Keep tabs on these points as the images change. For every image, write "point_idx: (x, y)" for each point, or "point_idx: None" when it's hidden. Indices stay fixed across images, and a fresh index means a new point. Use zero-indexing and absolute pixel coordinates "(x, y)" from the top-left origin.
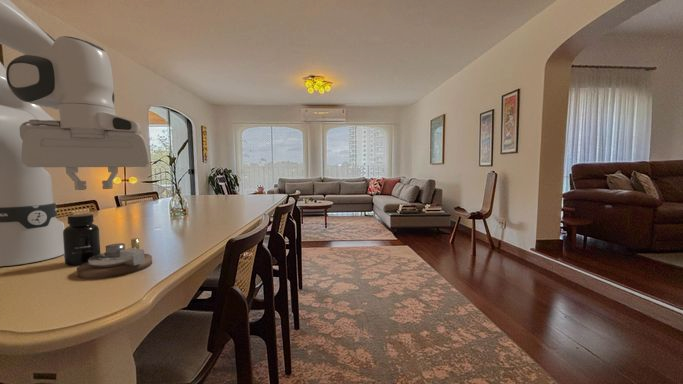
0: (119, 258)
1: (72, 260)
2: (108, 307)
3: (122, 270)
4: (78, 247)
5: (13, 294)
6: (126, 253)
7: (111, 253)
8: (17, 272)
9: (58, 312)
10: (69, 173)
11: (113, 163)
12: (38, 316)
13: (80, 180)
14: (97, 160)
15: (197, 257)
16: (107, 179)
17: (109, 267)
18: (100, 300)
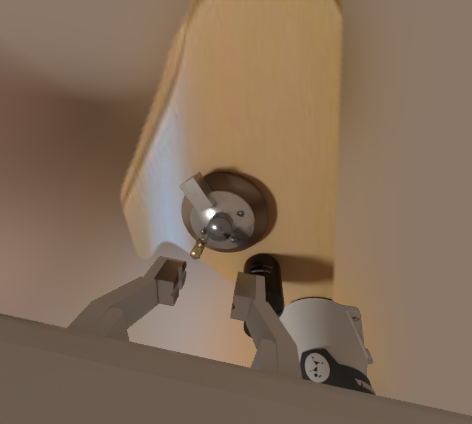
0: (216, 200)
1: (272, 261)
2: (228, 15)
3: (215, 174)
4: (265, 271)
5: (329, 181)
6: (204, 191)
7: (225, 216)
8: (323, 271)
9: (286, 47)
10: (283, 340)
11: (37, 345)
12: (307, 49)
13: (246, 322)
14: (110, 395)
15: (127, 193)
16: (151, 282)
17: None
18: (239, 65)
